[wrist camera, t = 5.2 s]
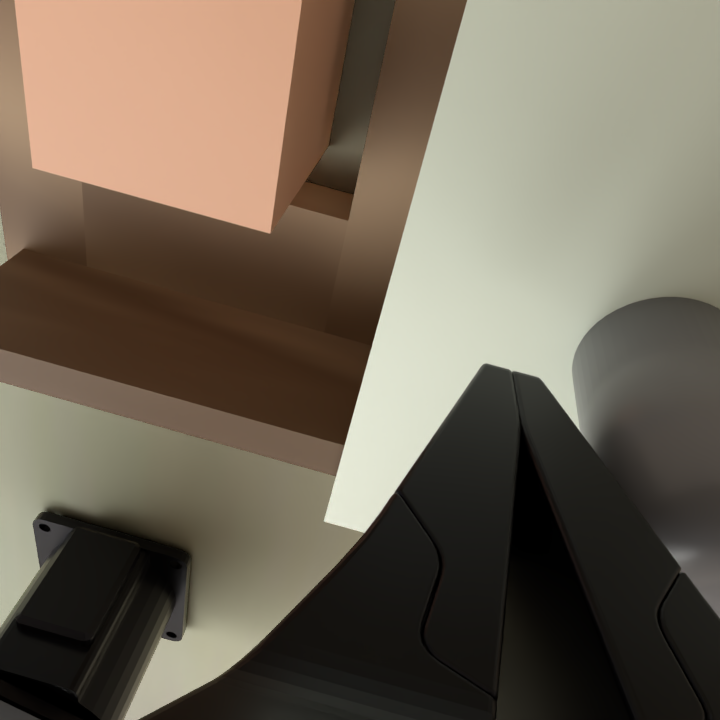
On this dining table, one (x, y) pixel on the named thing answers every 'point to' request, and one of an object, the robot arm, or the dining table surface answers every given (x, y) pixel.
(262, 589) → the dining table surface
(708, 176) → the sliding cover
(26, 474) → the dining table surface
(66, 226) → the walnut board
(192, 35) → the terracotta block
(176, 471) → the dining table surface
